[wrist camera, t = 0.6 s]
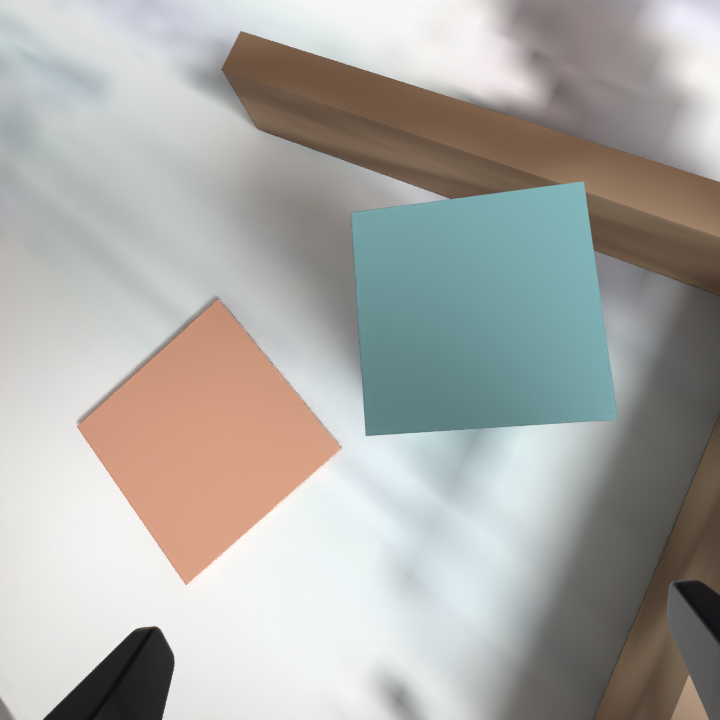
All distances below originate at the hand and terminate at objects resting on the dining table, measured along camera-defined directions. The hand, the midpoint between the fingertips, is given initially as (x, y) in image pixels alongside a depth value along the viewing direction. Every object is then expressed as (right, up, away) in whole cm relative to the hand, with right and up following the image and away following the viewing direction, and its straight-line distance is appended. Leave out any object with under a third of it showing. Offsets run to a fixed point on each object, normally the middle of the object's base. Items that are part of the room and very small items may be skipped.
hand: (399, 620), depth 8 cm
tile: (-9, +1, +16) cm, 18 cm away
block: (+4, +4, +14) cm, 15 cm away
